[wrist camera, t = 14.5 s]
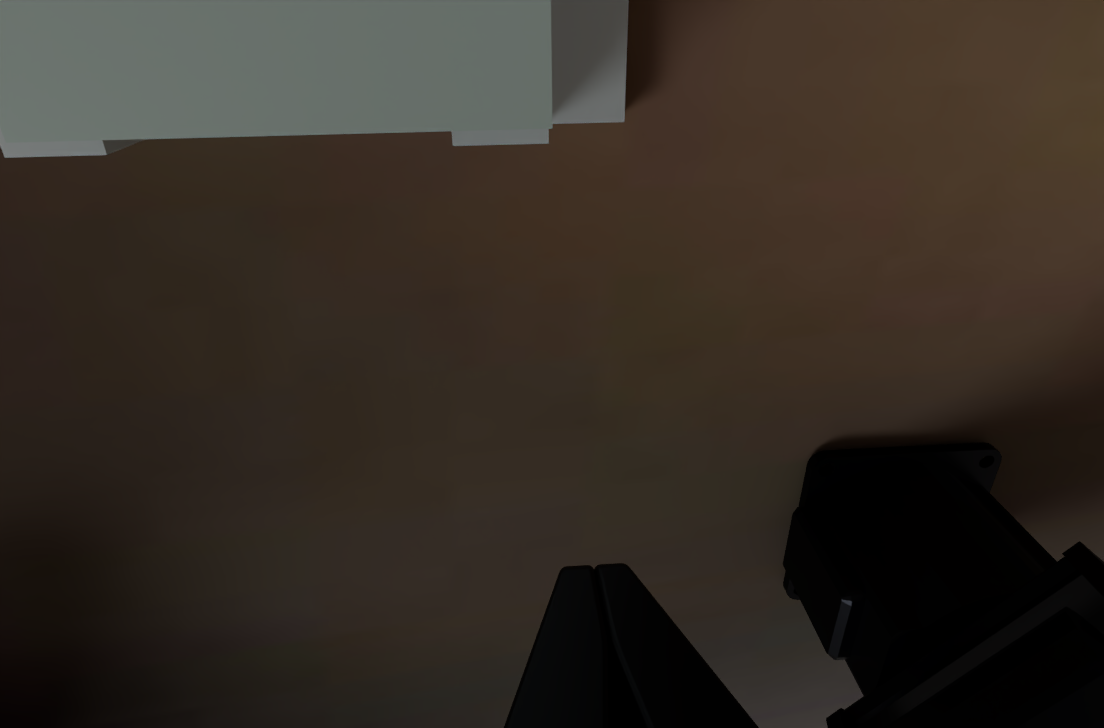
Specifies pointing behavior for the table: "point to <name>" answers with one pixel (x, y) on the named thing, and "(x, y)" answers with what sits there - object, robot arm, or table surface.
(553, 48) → the base
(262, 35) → the duct cover
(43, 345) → the table surface
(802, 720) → the table surface
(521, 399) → the table surface
